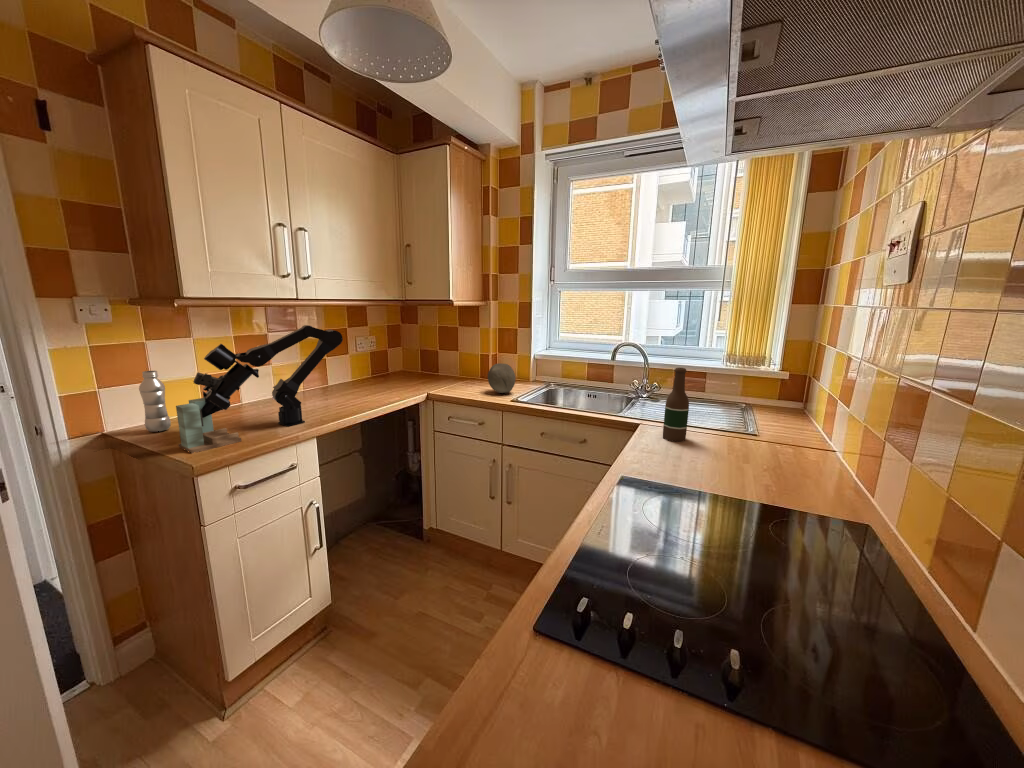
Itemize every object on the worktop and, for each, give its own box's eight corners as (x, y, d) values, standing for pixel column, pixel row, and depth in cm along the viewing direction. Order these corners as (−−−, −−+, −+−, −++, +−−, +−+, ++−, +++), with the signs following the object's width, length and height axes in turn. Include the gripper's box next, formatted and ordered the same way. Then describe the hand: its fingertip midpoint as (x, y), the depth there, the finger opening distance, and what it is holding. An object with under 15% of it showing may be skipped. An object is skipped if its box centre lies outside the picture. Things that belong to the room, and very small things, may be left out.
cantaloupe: (519, 392, 205) (520, 362, 202) (508, 397, 192) (508, 366, 190) (494, 389, 211) (495, 360, 208) (481, 394, 198) (481, 364, 195)
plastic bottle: (157, 434, 131) (147, 373, 128) (140, 433, 133) (130, 372, 129) (177, 428, 138) (168, 370, 134) (160, 427, 139) (151, 369, 135)
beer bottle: (667, 433, 143) (674, 365, 138) (690, 438, 137) (697, 368, 133) (657, 438, 137) (663, 367, 133) (680, 443, 132) (687, 370, 127)
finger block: (208, 433, 134) (203, 397, 131) (214, 436, 131) (209, 399, 129) (191, 437, 130) (186, 400, 127) (197, 439, 127) (192, 402, 125)
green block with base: (227, 435, 132) (223, 396, 129) (241, 441, 127) (236, 400, 124) (178, 447, 121) (172, 404, 118) (191, 453, 116) (185, 409, 114)
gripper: (208, 360, 136) (169, 396, 131) (212, 367, 122) (169, 408, 117) (238, 380, 142) (203, 416, 137) (246, 389, 128) (207, 429, 123)
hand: (195, 417), depth 129 cm, fingers closed on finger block, 5 cm apart
